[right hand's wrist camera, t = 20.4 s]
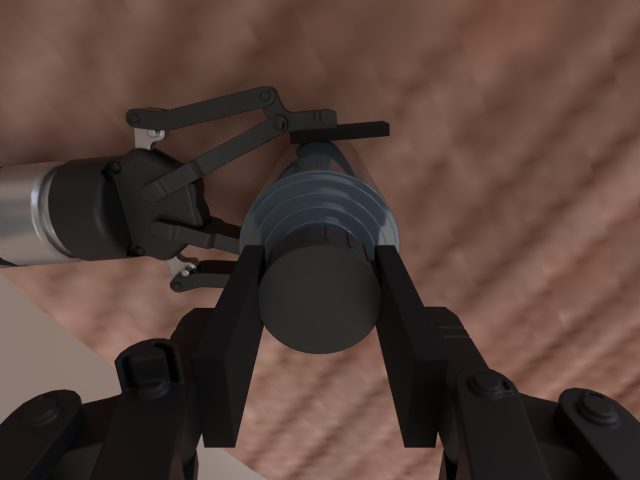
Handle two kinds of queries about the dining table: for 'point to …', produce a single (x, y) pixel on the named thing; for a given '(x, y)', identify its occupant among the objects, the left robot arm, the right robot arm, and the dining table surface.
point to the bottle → (319, 198)
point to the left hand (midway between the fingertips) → (386, 185)
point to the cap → (319, 291)
